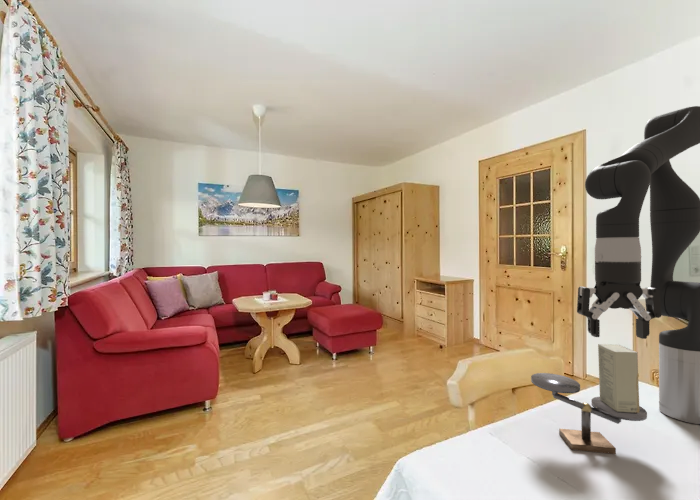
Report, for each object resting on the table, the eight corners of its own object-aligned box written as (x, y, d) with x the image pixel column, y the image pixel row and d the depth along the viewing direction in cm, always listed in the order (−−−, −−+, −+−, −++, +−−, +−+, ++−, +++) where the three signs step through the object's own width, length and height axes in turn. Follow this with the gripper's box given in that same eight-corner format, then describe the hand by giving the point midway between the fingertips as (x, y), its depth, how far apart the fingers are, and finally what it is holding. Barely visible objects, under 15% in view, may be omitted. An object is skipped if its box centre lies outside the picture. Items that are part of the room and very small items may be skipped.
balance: (629, 437, 73) (629, 378, 73) (658, 463, 64) (658, 396, 64) (525, 427, 77) (525, 371, 77) (539, 450, 68) (539, 387, 68)
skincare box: (640, 414, 66) (640, 352, 66) (615, 412, 67) (615, 351, 67) (620, 399, 72) (620, 344, 72) (597, 398, 73) (597, 343, 73)
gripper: (644, 258, 71) (644, 333, 71) (571, 259, 74) (571, 331, 74) (670, 260, 64) (671, 343, 64) (588, 260, 67) (588, 340, 67)
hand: (617, 337), depth 69 cm, fingers open, 8 cm apart
